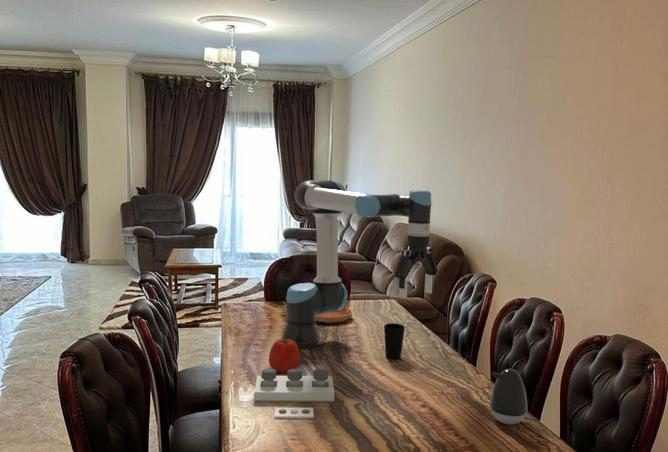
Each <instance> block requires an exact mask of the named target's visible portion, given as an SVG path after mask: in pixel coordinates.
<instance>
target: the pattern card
mask: <svg viewBox="0 0 668 452" xmlns="http://www.w3.org/2000/svg"><path fill="white" fill-rule="evenodd" d="M314 416H315V415H314V407H274V419H315V417H314Z"/></svg>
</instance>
